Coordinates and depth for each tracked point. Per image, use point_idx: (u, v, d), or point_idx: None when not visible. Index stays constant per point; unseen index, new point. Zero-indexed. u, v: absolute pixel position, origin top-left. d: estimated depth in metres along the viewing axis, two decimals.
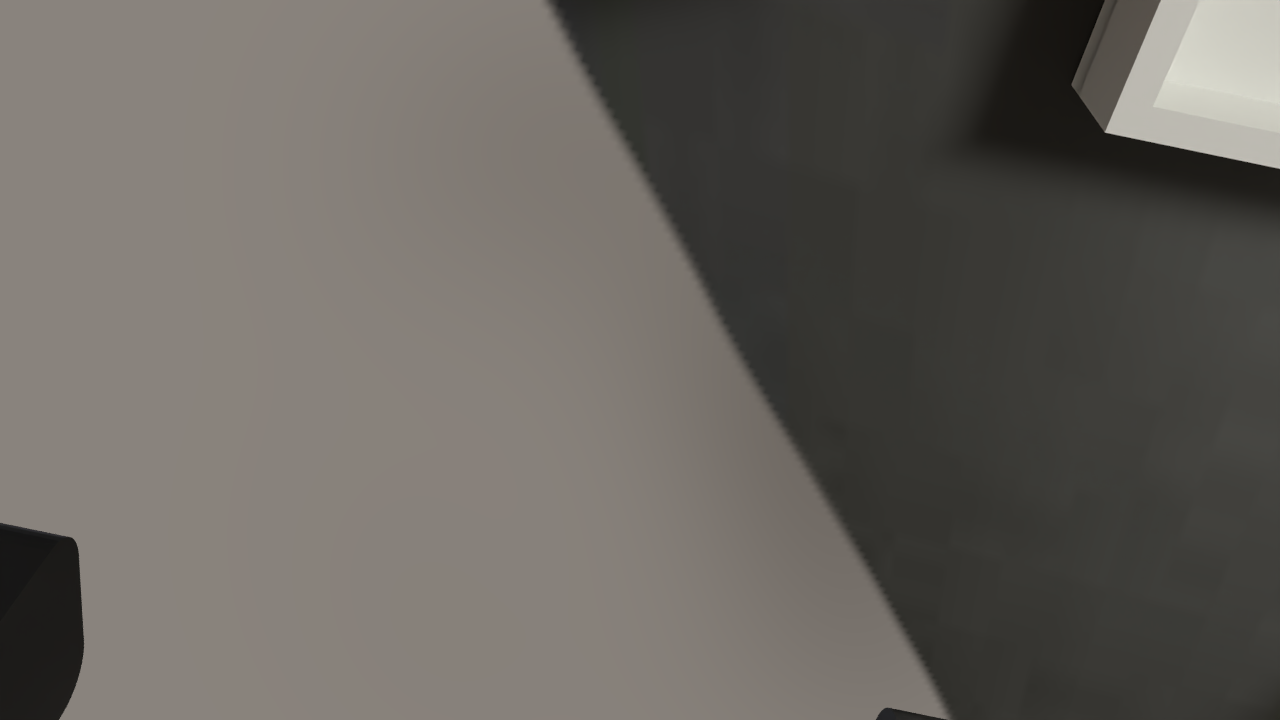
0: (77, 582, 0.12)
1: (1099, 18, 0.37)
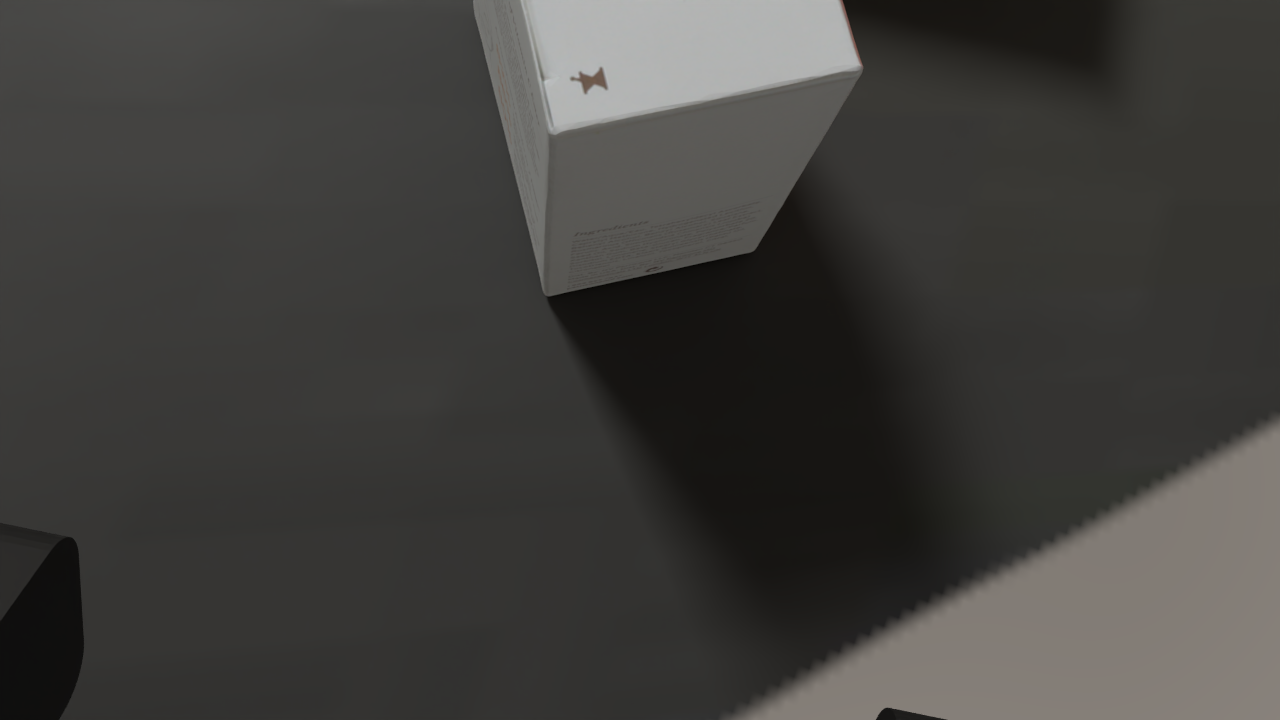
0: (77, 582, 0.12)
1: None
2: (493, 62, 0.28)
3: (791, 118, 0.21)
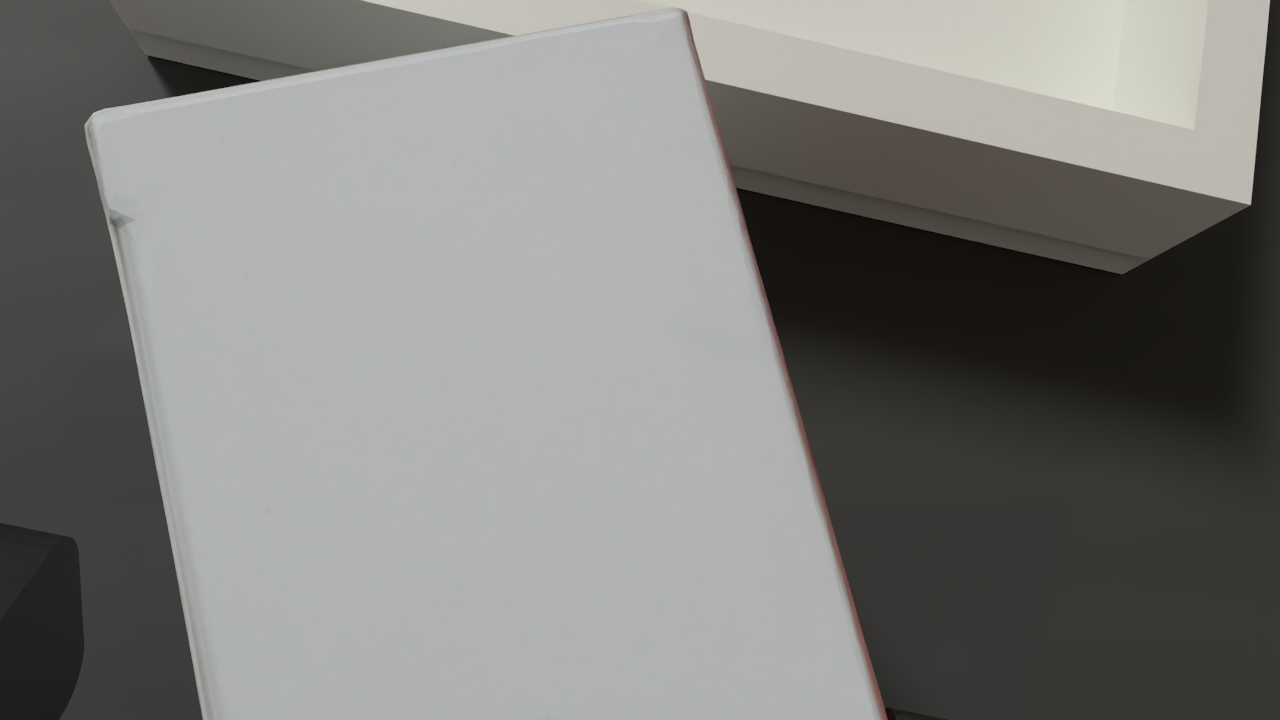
0: (77, 582, 0.12)
1: (1010, 247, 0.22)
2: None
3: None
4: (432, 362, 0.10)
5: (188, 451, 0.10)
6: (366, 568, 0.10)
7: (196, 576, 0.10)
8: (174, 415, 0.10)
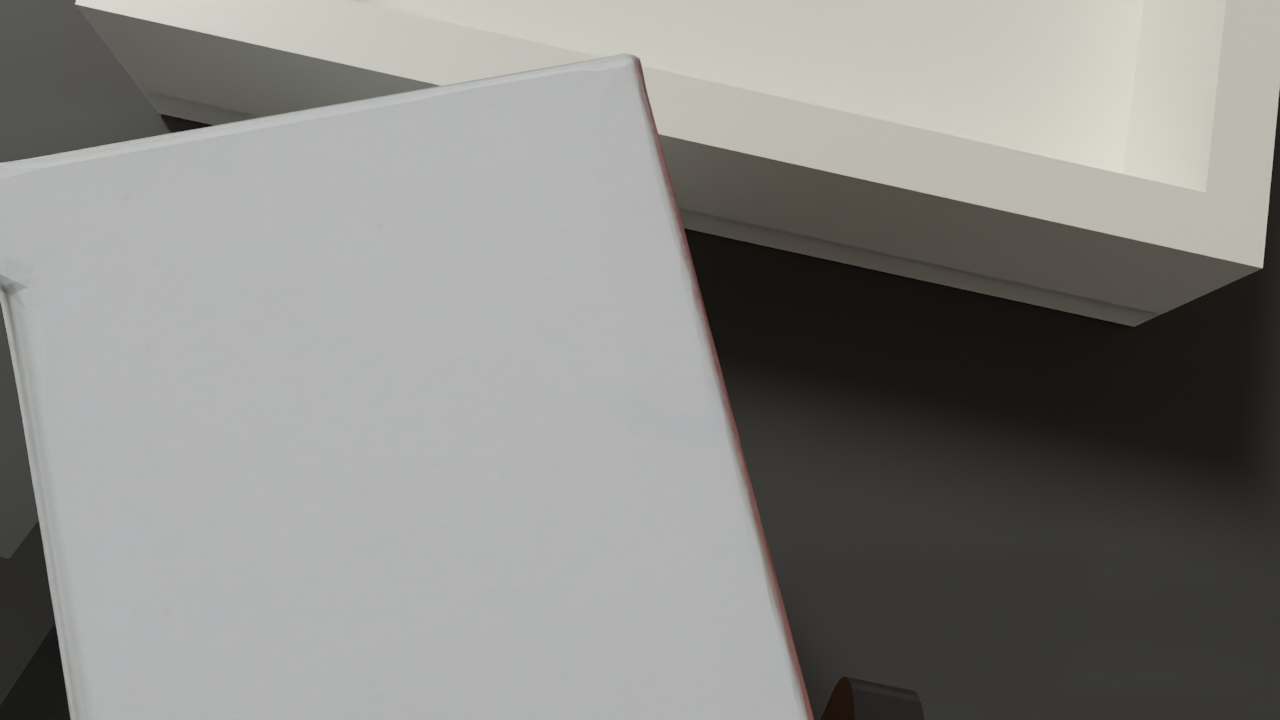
0: None
1: (1021, 300, 0.22)
2: None
3: None
4: (351, 447, 0.09)
5: (81, 544, 0.09)
6: (272, 674, 0.09)
7: (85, 683, 0.09)
8: (65, 504, 0.09)
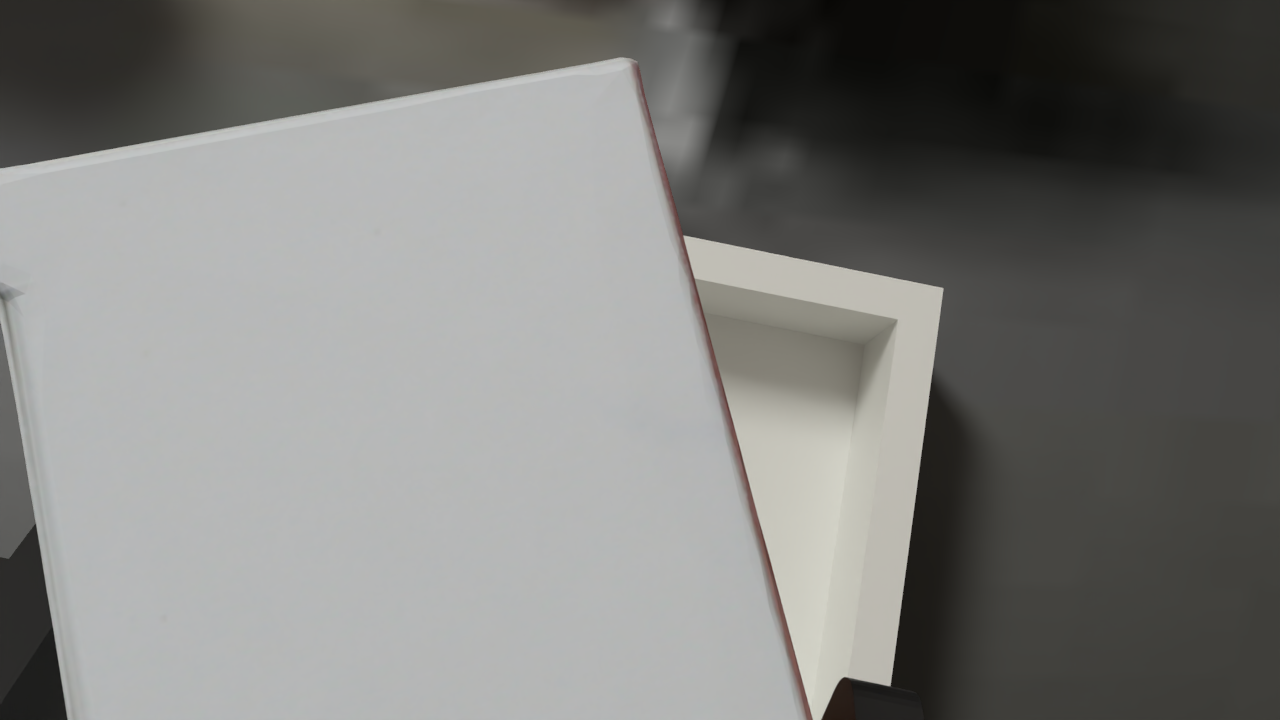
0: None
1: None
2: None
3: None
4: (348, 452, 0.09)
5: (77, 551, 0.09)
6: (271, 682, 0.09)
7: (83, 691, 0.09)
8: (62, 510, 0.09)
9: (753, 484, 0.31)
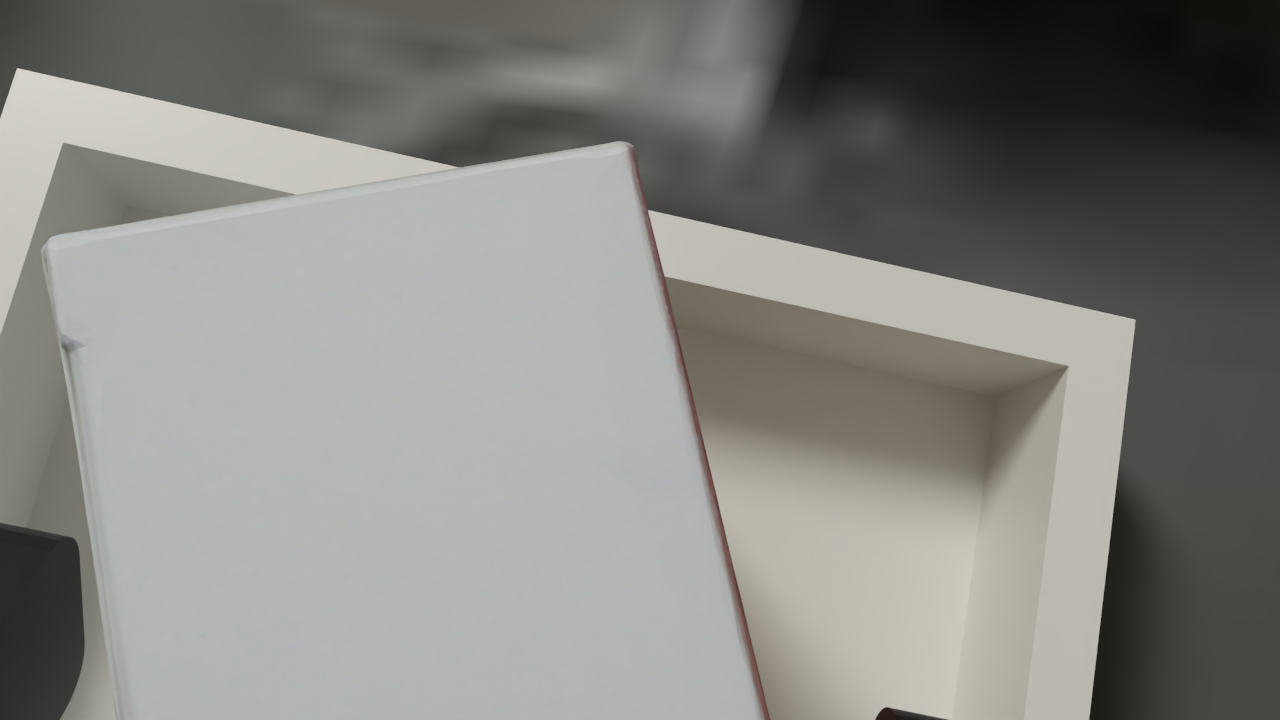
0: (78, 582, 0.12)
1: None
2: None
3: None
4: (369, 494, 0.10)
5: (128, 576, 0.10)
6: (296, 696, 0.10)
7: (131, 699, 0.10)
8: (116, 539, 0.10)
9: (835, 602, 0.21)
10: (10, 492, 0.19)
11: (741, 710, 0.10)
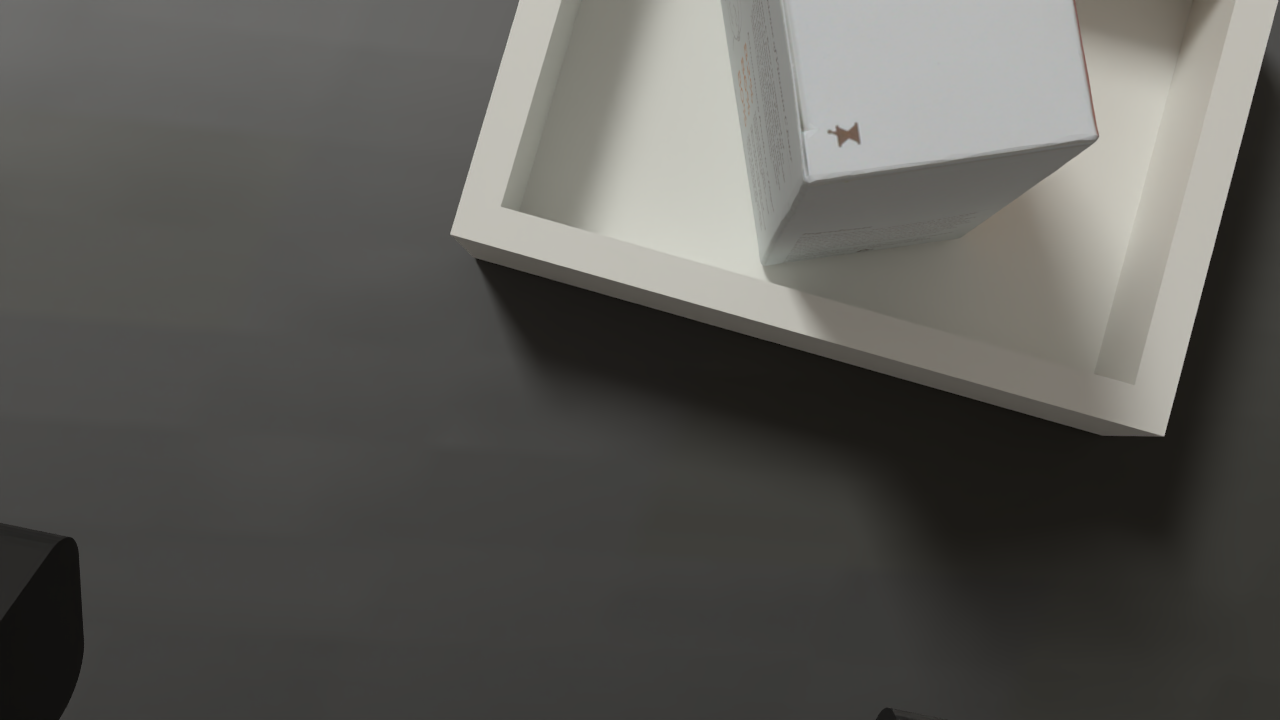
0: (77, 582, 0.12)
1: None
2: (736, 49, 0.30)
3: (1024, 168, 0.23)
4: None
5: None
6: None
7: None
8: None
9: None
10: (571, 13, 0.32)
11: (1067, 15, 0.22)
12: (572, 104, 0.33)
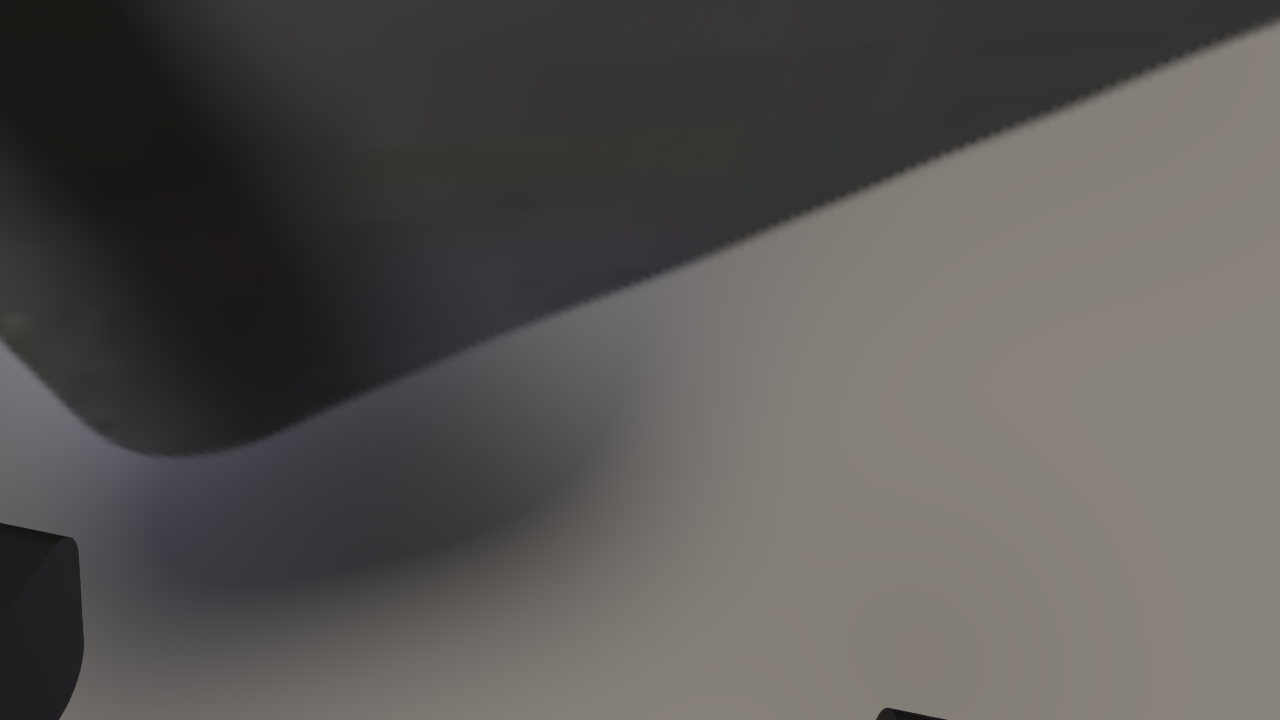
0: (77, 582, 0.12)
1: None
2: None
3: None
4: None
5: None
6: None
7: None
8: None
9: None
10: None
11: None
12: None
